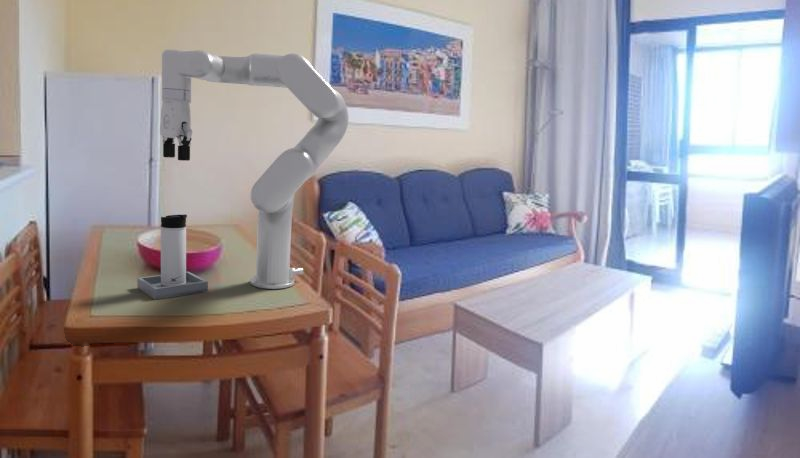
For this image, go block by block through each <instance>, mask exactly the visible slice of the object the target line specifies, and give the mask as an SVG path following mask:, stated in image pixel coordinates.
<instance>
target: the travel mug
mask: <svg viewBox="0 0 800 458" xmlns="http://www.w3.org/2000/svg"><path fill="white" fill-rule="evenodd" d="M187 218H188V214H186V213H185V214H171V215H166V216H161V217H160V275H161V287H167V286H174V285H181V284H186V272H187V224H186V223H187Z"/></svg>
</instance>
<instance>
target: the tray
mask: <svg viewBox="0 0 800 458" xmlns="http://www.w3.org/2000/svg"><path fill="white" fill-rule="evenodd" d="M136 281H137V289H138V290H140V291H142V293H144V294H146V295H148V297H151V298H152V299H154V300H161V299H163V300H164V299H167V298H174V297H181V296H189V295H194V294H200V293H208V291H209V289H208V287H209V286H208V285H209V281H208V280H206V279H204V278H202V277H199V276H198V275H196V274H194V273H193V272H190V271H186V284H181V285H174V286H167V287H161V274H160V275H159V274H158V275H151V276H150V275H149V276H141V277H137V280H136Z"/></svg>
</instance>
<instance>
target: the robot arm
mask: <svg viewBox="0 0 800 458" xmlns="http://www.w3.org/2000/svg"><path fill="white" fill-rule="evenodd" d="M192 78H193V79H197V80H201V81H207V82H211V83H221V84H232V85H233V84H235V85H248V86H254V87H255V86H257V87H269V88H270V87H272V88H273V87H274V88H284V89H285V88H286V89H288V90H289V91H290V93H292V94H293V96H295V97H296V99H297V100H298V101H299V102H300V103H301V104H302V105H303V106H304V107H305V108H306V109H307V110H308V111H309V112H310V113H311V114H312V115H313V116H314V117H316V118H317V120H316V123H315V124H314V125H313V126H312V127H311V128H310V129H309V130H308V132H306V134H305V135H304V136H303V138H302V139H301V140H300V141H299V142H298V143H297V144H296V145H295V146H294V147H291V148H288V149H286V150H284V151H283V152H281V153H280V155H278V157H276V158H275V160H274V161H273V162H272V163H271V164H270V165H269V167H268V168H267V169H266V170H265V171H264V172H263V174H261V175H260V177H259V178H258V179H257V180H256V181H255V182H254V184H253V186H252V188H251V190H250V201H251V204H252V205H253V207H254V208H255V209H256V210H257V211H258V214H257V215H258V216H257V232H256V233H257V235H256V239H257V240H256V266H255V276H252V277H250V280H249V281H250V282H249V283H250V285H252V286H253V287H255V288H260V289H267V290H278V289H279V290H280V289H286V288H290V287H292V286H293V285H295V278H294V277H295V275H297V276H298V275H299V276H300V275H303V273H304V268H303V267H296V268H295V267H291V243H292V241H291V240H292V219H293V209H294V201H295V193H296V192H297V191H299V190H298V189H300V188H301V187H302V185H303V184H305V182H306V181H308V180H309V179H311V178H312V176H314V174H315V173H316V171H317V170H318V169H319V167H320V166H321V165H322V164H323V163H324V162H325V161H326V159H327V158H328V157H329V156H330V155H331V153H332V152H333V151H334V150H335V148H336V147H337V146H338V145H339V144H340V143H341V141H342V139H343V138H344V136H345V134H346V132H347V130H348V125H349V112H348V107H347V104H346V102H345V100H344V97H343V96H342V95H341V93H339V91H337V90H335V89H333V88H332V86H331V85H330V84H329V83H328V82H327V81H326V80H325V79H323V77H322V76H321V75H320V74H319V73H318V72H317V71H316V70H315V69H314V67H313V64H312V63H311V62H310V60H308V59H307V58H305V56H303V55H301V54H299V53H294V52H293V53H287V54H284V55H279V54H265V53H252V54H249V55H247V56H227V55H226V56H225V55H216V54H213V53H211V52H207V51H204V50H200V49H199V50H179V49H170V48H169V49H164V50H163V51H162V53H161V101H162V102H161V103H162V105H161V110H160V125H159V127H160V128H159V133H160V136H161V137H162V153H163V154H162V156H163V157H164V158H173V159H174V158H176V144H175V140H176V139H177V142H178V144H179V145H177V160H178V161H186V162H187V161H188V162H189V161H190V160H191V145H192V143H191V141H192V135H193V130H192V121H191V109H190V108H191V107H190V104H191V103H192ZM163 157H162V158H163Z"/></svg>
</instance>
